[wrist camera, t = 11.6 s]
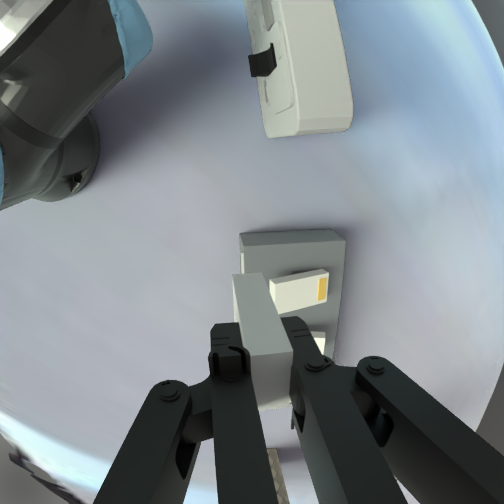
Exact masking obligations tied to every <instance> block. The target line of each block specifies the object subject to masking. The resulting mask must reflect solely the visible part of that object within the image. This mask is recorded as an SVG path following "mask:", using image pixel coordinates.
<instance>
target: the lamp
mask: <svg viewBox="0 0 504 504" xmlns="http://www.w3.org/2000/svg"><path fill="white" fill-rule="evenodd" d="M267 453H268V457H269V462H270V467H271V471H272V476H273V480H274V484H275V489H276V493H277V498H278V502H279V504H290V503H289V499H288V495H287V491H286V487H285V483H284V479H283V475H282V471H281V467H280V462H279V458H278V454H277V450H276V449H267Z"/></svg>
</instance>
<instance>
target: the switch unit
mask: <svg viewBox="0 0 504 504" xmlns="http://www.w3.org/2000/svg"><path fill="white" fill-rule="evenodd" d="M239 237H240V264H241V274H247V273H261V272H262V274H263V277H264V279H265V282H266V284H267V287H268V289H269V292H270V279H274V278H279V277H284V276H289V275H294V274H299V273H304V272H308V271H313V270H318V269H324V270H325V271H327V272H329V279H328V291H327V302H324V303H320V304H317V305H313V306H309V307H305V308H302V309H298V310H294V311H290V312H286V313H282V314H279V317H280V318H281V317H291V316H298V317H299V318H301V319H302V320H304V321H305V322H306V324H307V326H308V328H309V330H310V331H314V332H325V345H324V353H323V355H325V356H327V357H329V358H331V360H332V359H333V353H334V346H335V339H336V332H337V325H338V317H339V309H340V300H341V291H342V281H343V271H344V259H345V247H346V240H345V239H343V238H342V237H341V236H339V235H338V234H337V233H335V232H334V231H333V230H331V229H317V230H296V231H277V232H258V233H241V234H239ZM290 404H292V402H290Z"/></svg>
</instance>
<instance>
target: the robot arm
mask: <svg viewBox="0 0 504 504" xmlns="http://www.w3.org/2000/svg"><path fill="white" fill-rule="evenodd" d="M152 44H153V34H152V31H151V27H150V25H149V22H148V20H147V18H146V16H145V14H144V12H143V10H142V9H141V7H140V5H139V4H138V2H137V0H0V211H1V210H3V209H5V208H8V207H10V206H13V205H15V204H18V203H20V202H23V201H25V200H28V199H30V198H33V199H37V200H41V201H46V202H53V201H59V200H62V199H65V198H67V197H70V196H72V195H73V194H75V193H77V192H78V191H79V190H81V189H82V188H83V187H84V186H85V185H86V183H87V182H88V181H89V179H90V178H91V176H92V174H93V172H94V170H95V168H96V165H97V162H98V158H99V152H100V137H99V131H98V128H97V125H96V123H95V120H94V119H93V117H92V115H91V114H90V113H89V111H90V110H91V109H92V108H93V107H94V106H95V105H96V104H97V103H98V102H99V101H100V100H101V99H102V98H103V97H104V96H105V95H106V94H107V93H108V92H109V91H110V90H111V89H112V88H113V87H114V86H115V85H116V84H117V83H118V82H119V81H120V80H125V79H126V78H127V76H128V75H129V72H130V71H131V70H132V69H133V68H134V67H135V66H136V65H138V64H139V63H140V62H141V61H142V60H143V59H144V58H145V57H146V56H147V55H148V54H149V52H150V51H151V48H152ZM232 282H233V301H234V319H235V322H234V323H220V324H215V325H214V326H213V328H212V329H211V331H210V335H211V352H210V353H209V356H208V362H209V369H210V375H209V377H208V378H207V379H206V380H204V381H203V382H201V383H198V384H196V385H192V386H189V387H188V386H187V385H186V384H184V383H183V382H180V381H177V380H166V381H162V382H160V383H158V384H156V385H154V387H153V388H152V389H151V390H150V392H149V394H148V396H147V398H146V400H145V401H144V403H143V405H142V407H141V409H140V411H139V413H138V415H137V417H136V419H135V421H134V423H133V425H132V426H131V428H130V430H129V432H128V434H127V436H126V438H125V440H124V442H123V444H122V446H121V448H120V450H119V452H118V454H117V456H116V458H115V460H114V462H113V464H112V466H111V468H110V470H109V472H108V474H107V476H106V478H105V480H104V482H103V484H102V486H101V488H100V490H99V492H98V494H97V496H96V498H95V500H94V502H93V504H183V502H184V498H185V495H186V492H187V488H188V485H189V482H190V478H191V475H192V472H193V468H194V465H195V462H196V458H197V455H198V452H199V448H200V445H201V441H204V440H207V439H211V438H214V452H215V467H216V480H217V492H218V503H219V504H279V502H278V498H277V493H276V489H275V484H274V480H273V476H272V471H271V467H270V462H269V457H268V453H267V448H266V444H265V439H264V434H263V430H262V425H261V420H260V415H259V411H260V410H269V409H277V408H284V407H289V404H290V399H291V402H292V406H293V410H292V420H291V429H294V425H295V427H296V431H297V434H298V437H299V440H300V444H301V447H302V450H303V453H304V457H305V460H306V463H307V466H308V469H309V473H310V476H311V479H312V482H313V485H314V489H315V492H316V495H317V498H318V501H319V504H408V503H407V501H406V499H405V497H404V495H403V493H402V491H401V489H400V487H399V485H398V483H397V481H396V479H395V477H396V478H397V479H398V480H399V481H400V482H401V484H402V485H403V486H404V487H405V488H406V489H407V490H408V491H409V492H410V493H411V494H412V495H413V496H414V498H415V499H416V500H417V501H418V502H419V503H420V504H504V456H503V455H502V454H501V453H499V452H498V451H497V450H496V449H495V448H493V447H492V446H491V445H490V444H489V443H487V442H486V441H485V440H484V439H482V438H481V437H480V436H479V435H478V434H477V433H475V432H474V431H473V430H472V429H471V428H469V427H468V426H467V425H466V424H465V423H463V422H462V421H461V420H460V419H459V418H457V417H456V416H455V415H454V414H453V413H451V412H450V411H449V410H448V409H447V408H445V407H444V406H443V405H442V404H441V403H439V402H438V401H437V400H436V399H435V398H433V397H432V396H431V395H430V394H429V393H427V392H426V391H425V390H424V389H423V388H421V387H420V386H419V385H418V384H417V383H415V382H414V381H413V380H412V379H410V378H409V377H408V376H407V375H406V374H404V373H403V372H402V371H401V370H400V369H398V368H397V367H396V366H395V365H394V364H392V363H391V362H390V361H388V360H387V359H385V358H382V357H379V356H369V357H365V358H363V359H361V360H360V361H359V363H358V365H357V367H345V366H338V365H335V363H334V362H333V361H332V360H331V358H329V357H327V356H325V355H322V353H321V351H320V349H319V347H318V345H317V344H316V342H315V340H314V338H313V336H312V334H311V332H310V330H309V328H308V326H307V324H306V322H305V321H304V320H302V319H301V318H299V317H298V316H291V317H281V318H280V317H279V314H278V312H277V309H276V307H275V304H274V302H273V299H272V297H271V294H270V292H269V289H268V287H267V284H266V282H265V279H264V277H263V274H262V272H261V273H247V274H232ZM394 476H395V477H394Z"/></svg>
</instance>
